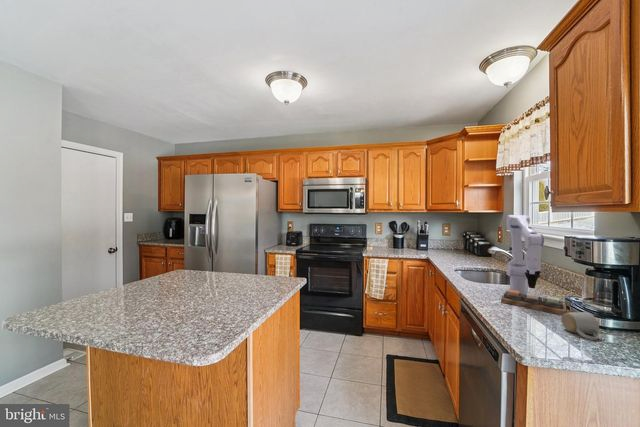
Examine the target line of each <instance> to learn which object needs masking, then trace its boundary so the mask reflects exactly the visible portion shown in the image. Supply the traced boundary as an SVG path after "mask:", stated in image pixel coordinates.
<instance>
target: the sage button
mask: <svg viewBox="0 0 640 427" xmlns="http://www.w3.org/2000/svg"><path fill="white" fill-rule="evenodd" d="M546 298H547V302H553V303H558V304H559V300H560V298H559V297H554V296H549V295H547V296H546Z"/></svg>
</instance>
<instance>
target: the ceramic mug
mask: <svg viewBox="0 0 640 427" xmlns="http://www.w3.org/2000/svg"><path fill="white" fill-rule="evenodd" d="M561 324H562V325H563V327H564V329H565V330H566V331H568V332H571V333H574V334H578V335H580V336H581V337H582V338H584V339H586V340H589V339H590V340H589V341H597V340H598V339H599V337H600V333H599V330H600V325H599V321H598V319H597V318H596V316H595V315H594V314H592V313H590V312H588V311H583V312H579V311H578V312H575V311H574V312H566V313H565V314H563V315H561ZM591 335H595V336H591Z"/></svg>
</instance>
